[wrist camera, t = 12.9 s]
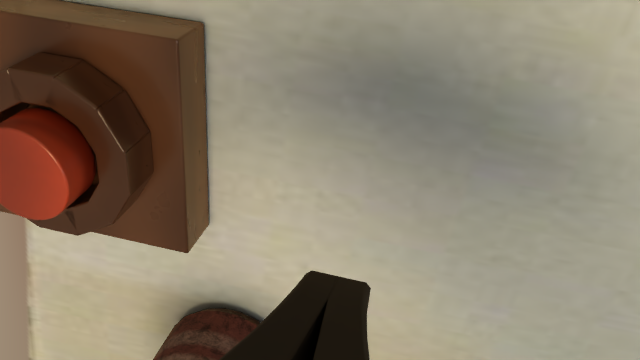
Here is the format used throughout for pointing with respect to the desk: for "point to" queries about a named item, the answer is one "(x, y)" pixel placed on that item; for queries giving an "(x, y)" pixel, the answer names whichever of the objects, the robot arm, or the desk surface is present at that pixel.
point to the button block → (117, 112)
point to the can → (206, 335)
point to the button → (43, 164)
